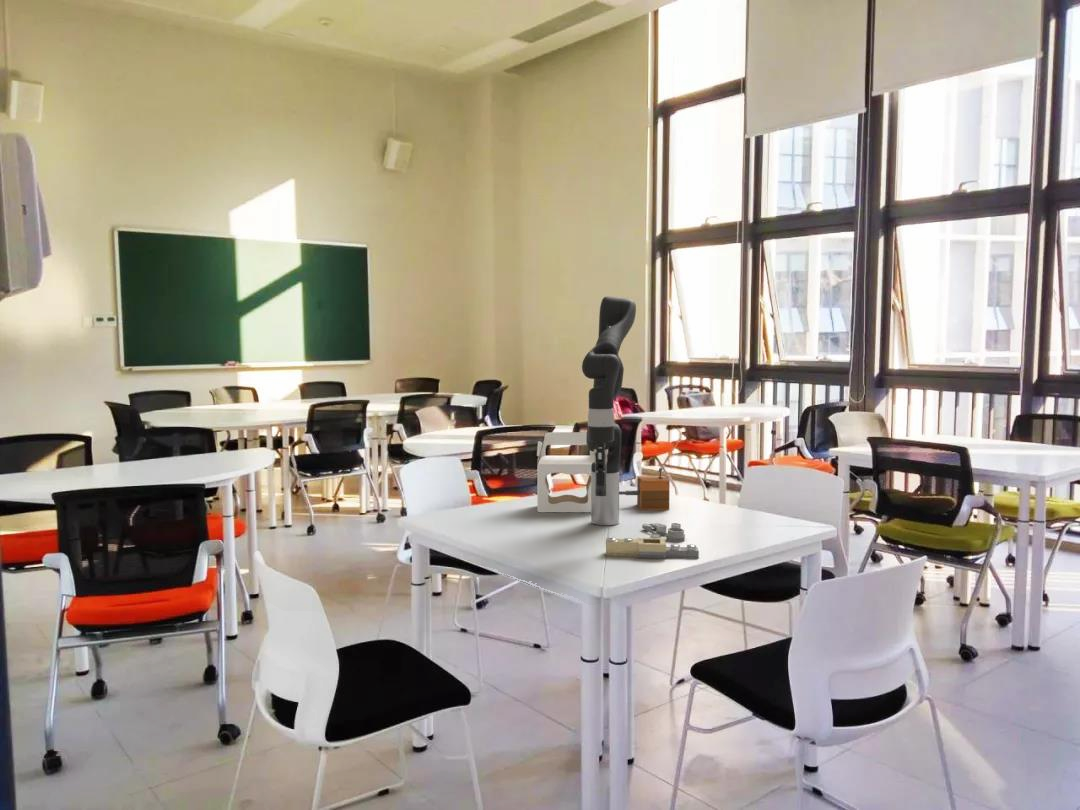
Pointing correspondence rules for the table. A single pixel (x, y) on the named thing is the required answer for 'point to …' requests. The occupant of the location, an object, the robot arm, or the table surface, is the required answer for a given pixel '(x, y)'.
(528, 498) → the table surface
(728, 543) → the table surface
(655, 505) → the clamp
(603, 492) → the pin
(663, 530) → the pulley system
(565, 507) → the white open frame
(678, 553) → the chain end
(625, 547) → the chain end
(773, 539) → the table surface
